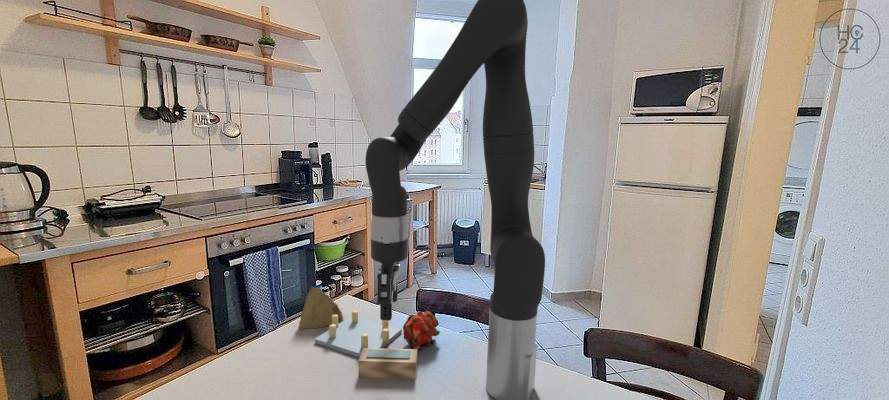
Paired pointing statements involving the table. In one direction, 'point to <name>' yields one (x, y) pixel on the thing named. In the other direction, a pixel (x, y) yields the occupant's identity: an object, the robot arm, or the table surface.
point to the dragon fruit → (420, 329)
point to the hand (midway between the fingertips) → (389, 310)
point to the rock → (318, 310)
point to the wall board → (357, 334)
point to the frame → (388, 363)
